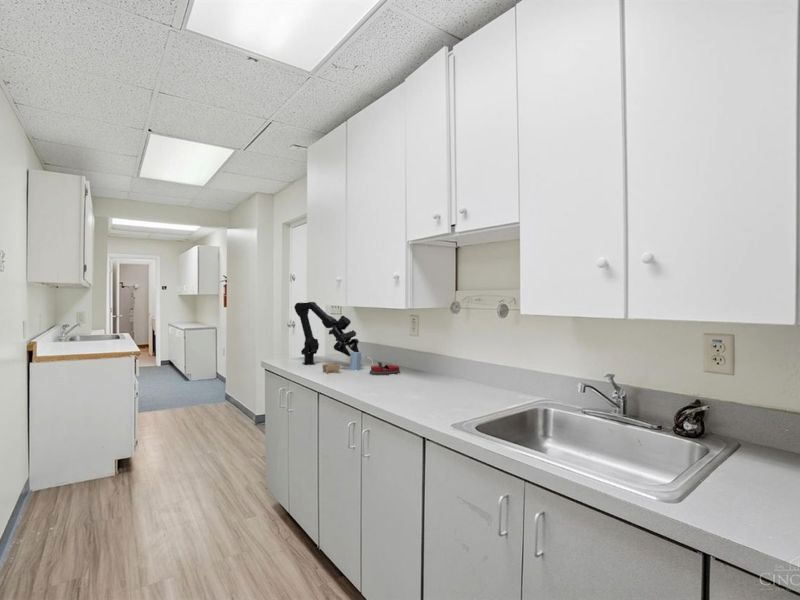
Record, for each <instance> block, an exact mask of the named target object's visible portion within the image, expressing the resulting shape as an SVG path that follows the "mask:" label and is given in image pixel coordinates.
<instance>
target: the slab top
mask: <svg viewBox="0 0 800 600" xmlns="http://www.w3.org/2000/svg"><path fill="white" fill-rule="evenodd" d="M323 369H325V370H328V371H329V370H339V371H340V369H341V364H337V363H323V364H322V370H323Z"/></svg>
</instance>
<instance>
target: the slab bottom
mask: <svg viewBox="0 0 800 600" xmlns="http://www.w3.org/2000/svg"><path fill="white" fill-rule="evenodd" d="M322 370H323V371H322V372H323V373H324V372H325V374H326V373H327V374H326V375H329V374H328V373H335V374H340V369H339V370H329V371H328V370H325V369H323V368H322Z"/></svg>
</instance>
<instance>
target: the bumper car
mask: <svg viewBox="0 0 800 600" xmlns="http://www.w3.org/2000/svg"><path fill="white" fill-rule="evenodd" d="M365 359H370V360H371V363H372V365H371V366H370V370H369V374H370V375H371V374H372V376H390V375H389V374H395V375H399V374H398V373H400V374H401V370H400V367H399V366H398V365H393V364H392V365H391V364H385V365H384V366H383V362H381V361H378V363H377V364H378V365H374V362H373V359H372V357H368V356H366V357H365Z"/></svg>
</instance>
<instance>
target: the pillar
mask: <svg viewBox="0 0 800 600" xmlns="http://www.w3.org/2000/svg"><path fill="white" fill-rule="evenodd" d="M349 353H350V355H351V356H349V357H350V358H349V361H350V362H349V363H350V365H349V371H355V370H358V371H361V370H362V352H360V351H359V352H354V351H352V352H349ZM360 369H361V370H360Z"/></svg>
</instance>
